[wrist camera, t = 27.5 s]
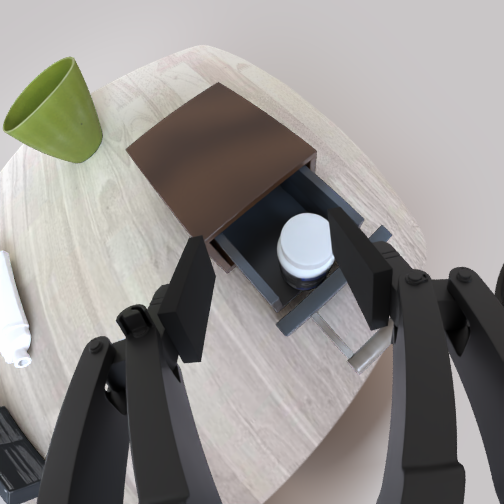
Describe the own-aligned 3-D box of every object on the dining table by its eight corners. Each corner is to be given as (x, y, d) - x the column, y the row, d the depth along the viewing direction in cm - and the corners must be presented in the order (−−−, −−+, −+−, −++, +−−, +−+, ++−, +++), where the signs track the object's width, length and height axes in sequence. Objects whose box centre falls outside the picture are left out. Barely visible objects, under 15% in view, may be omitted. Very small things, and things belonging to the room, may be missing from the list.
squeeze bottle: (14, 254, 38) (-5, 246, 33) (46, 346, 31) (22, 344, 27) (-6, 287, 37) (-24, 281, 32) (23, 377, 30) (1, 377, 26)
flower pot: (103, 105, 44) (63, 51, 29) (135, 131, 40) (84, 63, 25) (51, 158, 43) (1, 115, 28) (71, 197, 38) (4, 147, 23)
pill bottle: (303, 301, 26) (307, 285, 19) (270, 266, 28) (260, 237, 20) (338, 267, 27) (354, 239, 19) (304, 234, 28) (307, 195, 20)
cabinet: (312, 200, 31) (317, 150, 22) (227, 273, 31) (198, 246, 21) (235, 133, 36) (218, 81, 27) (161, 190, 35) (125, 149, 26)
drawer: (408, 303, 26) (443, 291, 18) (329, 382, 25) (341, 398, 17) (283, 177, 32) (279, 134, 25) (206, 240, 31) (180, 210, 24)
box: (1, 425, 28) (-42, 429, 17) (5, 405, 29) (-42, 406, 18) (53, 492, 24) (8, 508, 12) (58, 475, 25) (8, 492, 13)
